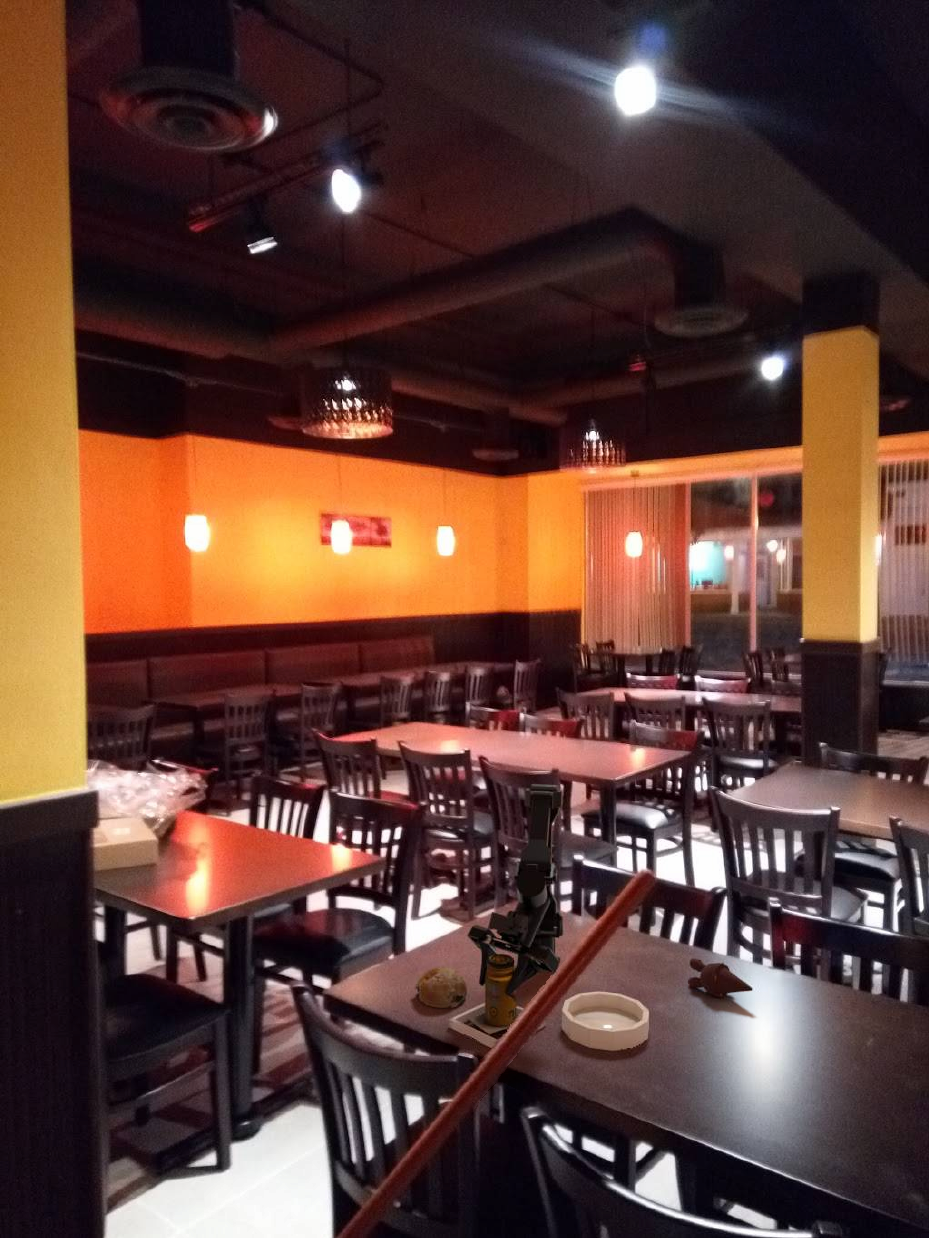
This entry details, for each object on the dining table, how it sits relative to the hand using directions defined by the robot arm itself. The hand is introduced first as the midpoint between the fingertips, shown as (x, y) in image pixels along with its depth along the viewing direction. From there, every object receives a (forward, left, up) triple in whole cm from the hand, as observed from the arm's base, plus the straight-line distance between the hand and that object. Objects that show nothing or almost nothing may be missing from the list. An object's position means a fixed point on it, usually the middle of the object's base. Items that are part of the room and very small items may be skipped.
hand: (493, 989), depth 169 cm
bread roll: (-2, -17, -8) cm, 18 cm away
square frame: (-1, 0, -8) cm, 8 cm away
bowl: (-15, +15, -8) cm, 23 cm away
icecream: (-44, +23, -8) cm, 50 cm away
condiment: (-1, 0, -7) cm, 7 cm away
